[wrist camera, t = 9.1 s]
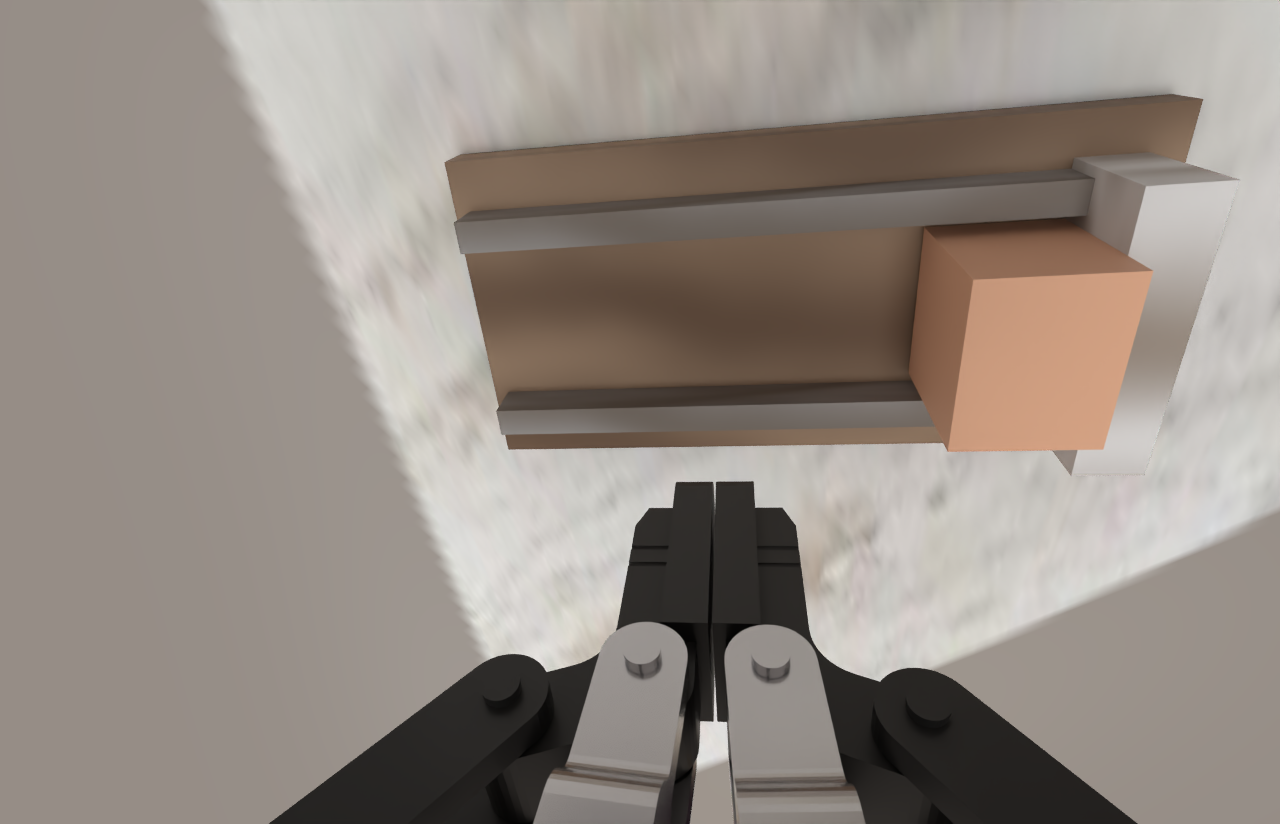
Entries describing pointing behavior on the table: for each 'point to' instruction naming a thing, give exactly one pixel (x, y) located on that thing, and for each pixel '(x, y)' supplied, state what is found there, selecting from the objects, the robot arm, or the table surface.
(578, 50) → the table surface
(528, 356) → the rail board
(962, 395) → the orange-brown block
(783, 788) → the robot arm
